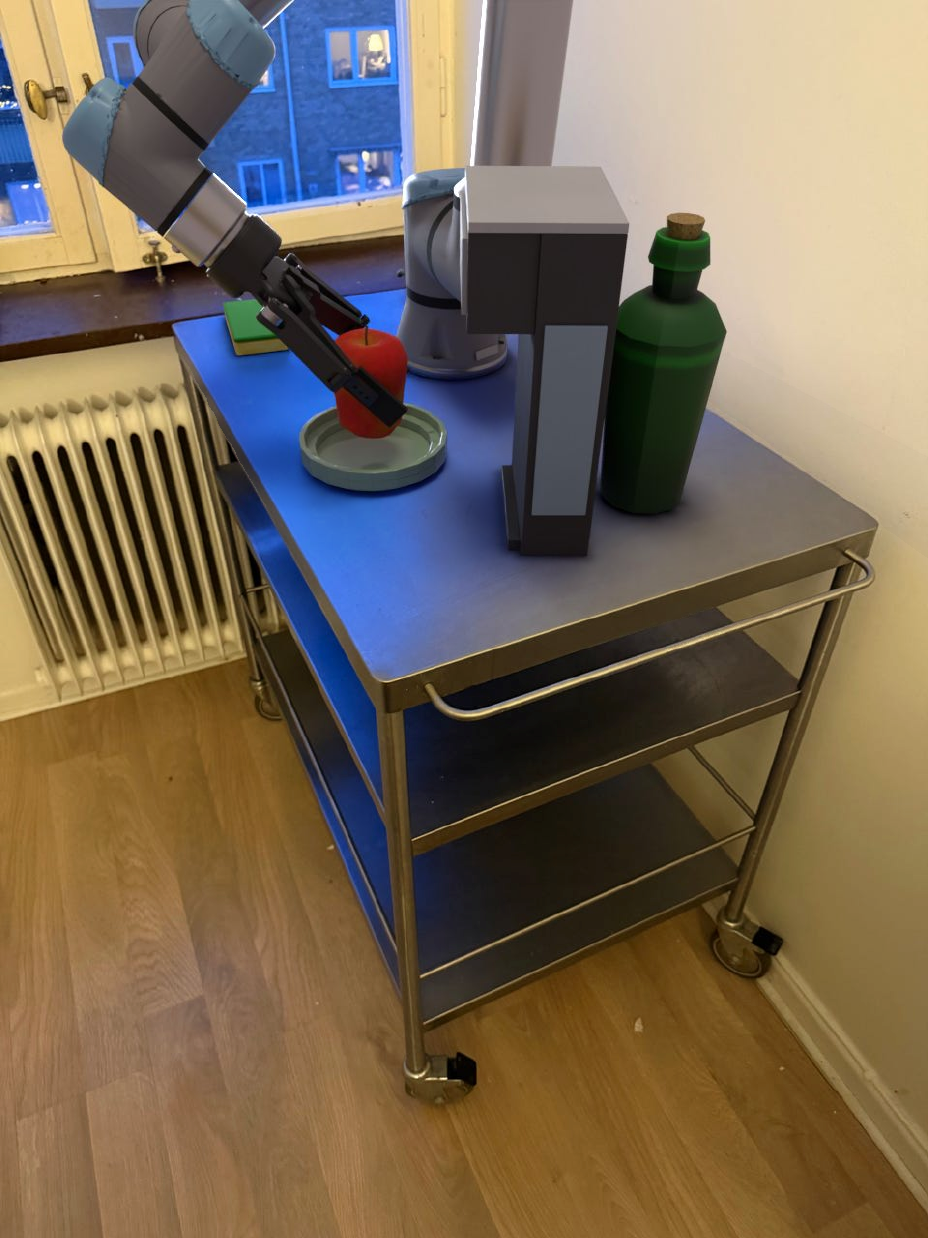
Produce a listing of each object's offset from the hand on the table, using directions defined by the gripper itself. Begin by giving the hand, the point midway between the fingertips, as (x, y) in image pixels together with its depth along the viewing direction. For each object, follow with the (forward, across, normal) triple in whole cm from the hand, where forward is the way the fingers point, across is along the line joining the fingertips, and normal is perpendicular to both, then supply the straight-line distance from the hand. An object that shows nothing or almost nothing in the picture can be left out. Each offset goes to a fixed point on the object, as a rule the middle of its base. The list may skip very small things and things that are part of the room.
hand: (400, 397), depth 94 cm
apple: (+1, 0, -5) cm, 5 cm away
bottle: (+23, +8, +13) cm, 28 cm away
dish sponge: (-10, -34, -21) cm, 41 cm away
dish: (+3, 0, -8) cm, 8 cm away
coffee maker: (+14, +11, +4) cm, 18 cm away
